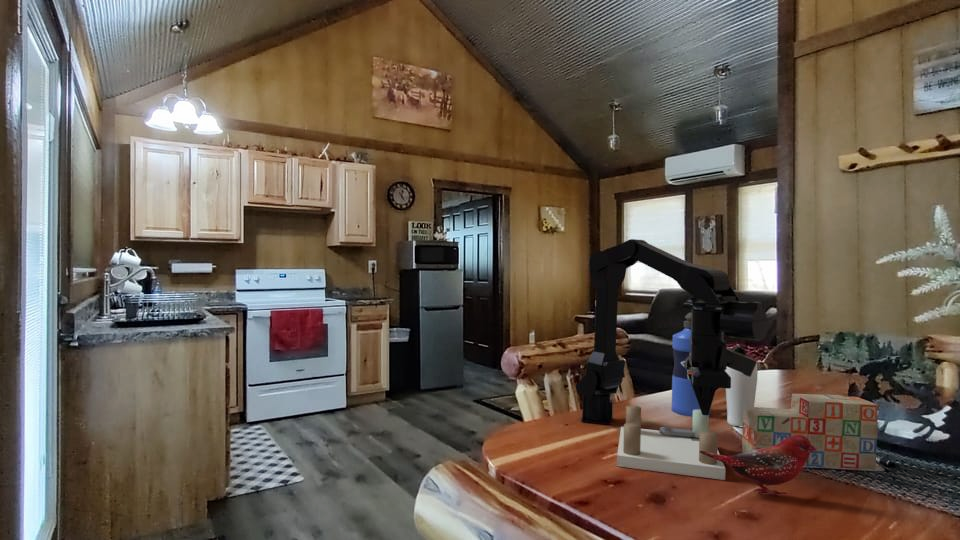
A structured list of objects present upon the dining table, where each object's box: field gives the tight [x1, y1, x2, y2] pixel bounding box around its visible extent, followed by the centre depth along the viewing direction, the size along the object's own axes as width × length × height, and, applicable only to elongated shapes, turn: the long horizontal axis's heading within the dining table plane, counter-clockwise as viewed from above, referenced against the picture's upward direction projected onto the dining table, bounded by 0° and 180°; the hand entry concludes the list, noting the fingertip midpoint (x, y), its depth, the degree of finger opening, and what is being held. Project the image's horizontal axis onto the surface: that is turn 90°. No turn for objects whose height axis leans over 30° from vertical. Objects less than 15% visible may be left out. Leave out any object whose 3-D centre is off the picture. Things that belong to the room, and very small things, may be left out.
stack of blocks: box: [741, 393, 879, 471], centre depth 101 cm, size 21×6×12 cm, turn 85°
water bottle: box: [671, 311, 711, 418], centre depth 133 cm, size 9×9×25 cm
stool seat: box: [616, 405, 726, 481], centre depth 102 cm, size 18×18×7 cm
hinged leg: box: [658, 409, 710, 438], centre depth 107 cm, size 9×3×5 cm, turn 76°
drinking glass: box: [725, 362, 759, 427], centre depth 123 cm, size 7×7×15 cm
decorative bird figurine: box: [699, 435, 817, 496], centre depth 86 cm, size 3×18×10 cm, turn 80°
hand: (705, 414), depth 102 cm, fingers closed
